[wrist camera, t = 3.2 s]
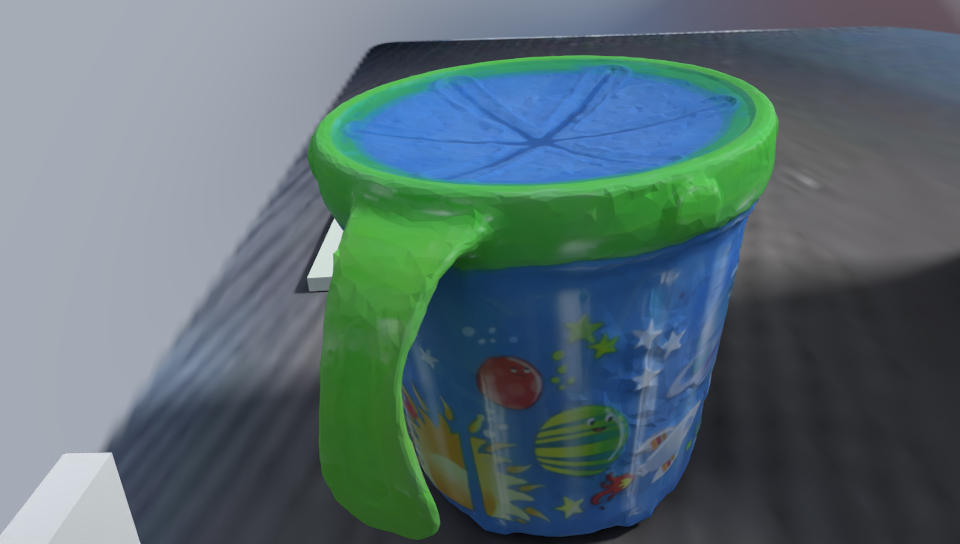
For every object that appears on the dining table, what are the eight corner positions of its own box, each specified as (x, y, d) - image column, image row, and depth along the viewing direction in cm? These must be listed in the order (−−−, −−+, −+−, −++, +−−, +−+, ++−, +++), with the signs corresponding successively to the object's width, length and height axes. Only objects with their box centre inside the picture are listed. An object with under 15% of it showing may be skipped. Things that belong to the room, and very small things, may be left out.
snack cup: (570, 780, 16) (549, 293, 12) (211, 557, 22) (108, 177, 18) (831, 378, 27) (872, 48, 23) (546, 301, 33) (534, 27, 29)
